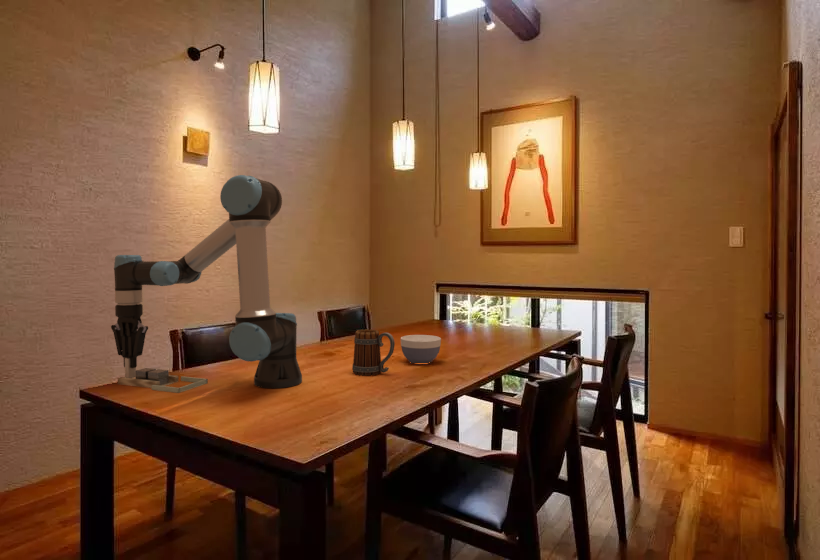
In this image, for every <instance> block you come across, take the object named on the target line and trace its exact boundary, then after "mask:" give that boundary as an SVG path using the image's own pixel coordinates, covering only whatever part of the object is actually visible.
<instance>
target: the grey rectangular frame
mask: <svg viewBox="0 0 820 560" xmlns="http://www.w3.org/2000/svg"><path fill="white" fill-rule="evenodd" d="M180 381H181V382H186V383H187V382H188V383H189V384H186V385H183V386H180V387H175V386H168V385H166V386H159V385H152V388H151V390H152V391H157V392H165V393H166V392H167V393H168V392H169V393H175V394H180V393H184V392H186V391H189V390H192V389H195V388H198V387H201V386H203V385H207V384H208V381H209V380H208V378H205V377H203V378H201V377H194V376H193V377H191V376H180Z"/></svg>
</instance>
